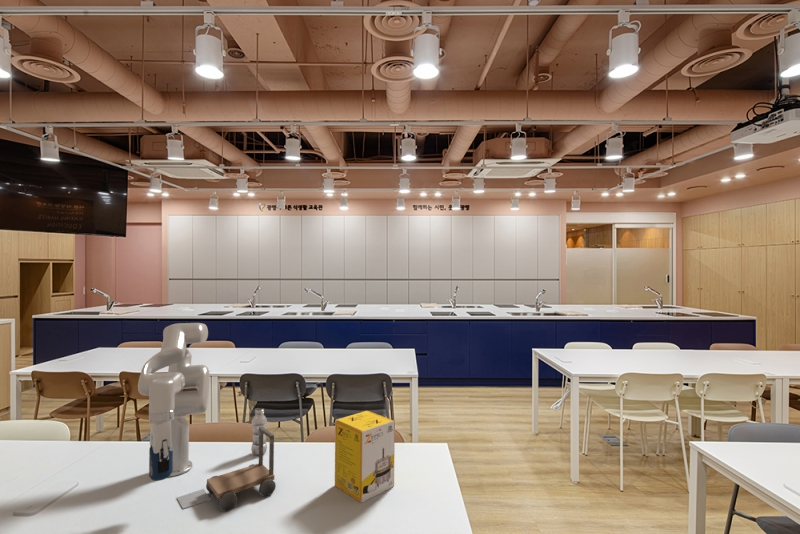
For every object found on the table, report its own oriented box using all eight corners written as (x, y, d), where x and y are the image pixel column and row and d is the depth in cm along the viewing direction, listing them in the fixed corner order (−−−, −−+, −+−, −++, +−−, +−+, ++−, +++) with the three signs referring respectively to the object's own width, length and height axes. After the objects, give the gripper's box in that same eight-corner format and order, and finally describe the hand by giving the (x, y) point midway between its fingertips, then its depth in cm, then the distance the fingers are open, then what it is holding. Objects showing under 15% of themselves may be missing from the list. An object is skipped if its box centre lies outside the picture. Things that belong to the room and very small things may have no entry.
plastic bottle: (262, 457, 177) (262, 412, 177) (248, 456, 178) (248, 411, 179) (269, 451, 183) (270, 407, 184) (256, 450, 185) (256, 406, 185)
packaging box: (367, 471, 165) (367, 410, 166) (394, 486, 154) (394, 420, 154) (334, 485, 154) (335, 420, 155) (361, 502, 142) (361, 431, 143)
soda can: (177, 471, 140) (177, 437, 140) (163, 482, 133) (163, 446, 133) (158, 470, 141) (159, 436, 141) (144, 481, 134) (144, 445, 134)
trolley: (219, 514, 135) (220, 452, 136) (205, 494, 147) (206, 437, 148) (276, 493, 148) (276, 437, 149) (258, 476, 160) (259, 424, 161)
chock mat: (176, 498, 144) (176, 497, 144) (203, 489, 150) (203, 488, 150) (183, 509, 138) (183, 508, 138) (210, 499, 144) (210, 499, 144)
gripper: (144, 410, 141) (143, 461, 141) (153, 426, 128) (153, 481, 128) (168, 405, 146) (167, 454, 146) (180, 420, 133) (179, 474, 133)
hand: (161, 466), depth 137 cm, fingers closed on soda can, 6 cm apart
